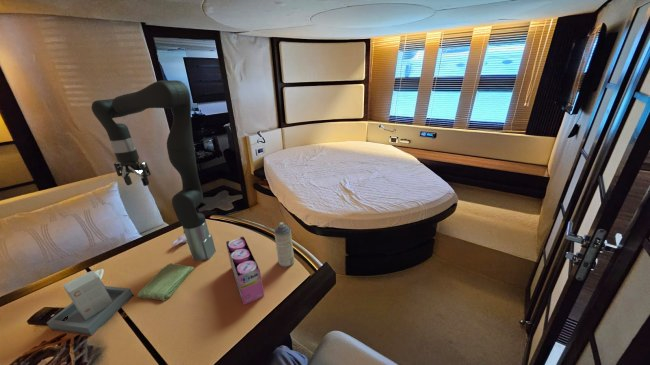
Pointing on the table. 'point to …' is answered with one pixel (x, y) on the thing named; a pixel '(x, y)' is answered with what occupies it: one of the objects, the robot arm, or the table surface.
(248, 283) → the gum box
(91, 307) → the small box
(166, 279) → the washcloth
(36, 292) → the table surface
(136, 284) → the table surface
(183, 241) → the pale purple eggplant
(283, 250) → the aerosol can
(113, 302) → the bin
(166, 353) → the table surface
